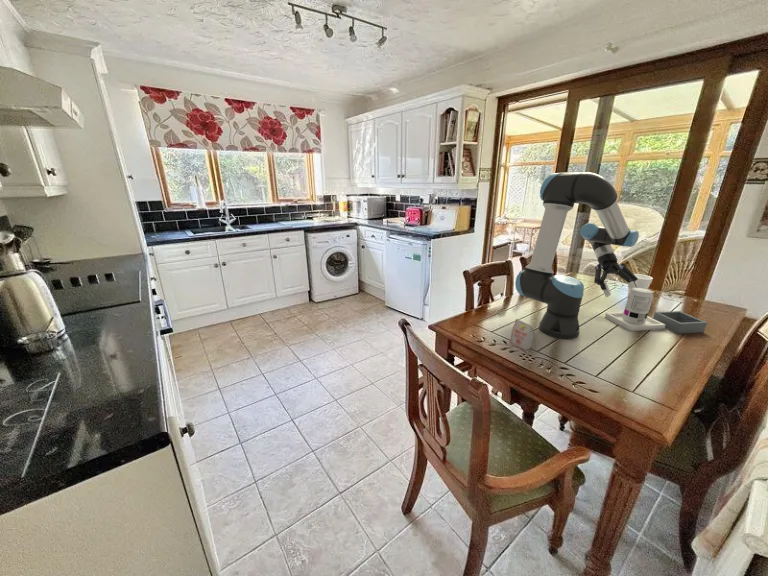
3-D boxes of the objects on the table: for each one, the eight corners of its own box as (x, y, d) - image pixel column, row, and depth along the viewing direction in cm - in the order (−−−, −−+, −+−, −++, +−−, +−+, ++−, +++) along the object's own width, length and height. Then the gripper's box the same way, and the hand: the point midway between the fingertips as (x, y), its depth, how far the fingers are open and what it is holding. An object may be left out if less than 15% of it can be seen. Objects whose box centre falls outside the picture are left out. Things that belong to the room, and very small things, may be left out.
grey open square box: (677, 333, 131) (680, 323, 129) (651, 321, 142) (654, 312, 141) (703, 332, 132) (707, 322, 130) (676, 320, 143) (679, 311, 142)
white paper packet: (516, 340, 126) (519, 318, 123) (531, 347, 121) (535, 324, 117) (510, 342, 125) (513, 320, 121) (524, 350, 119) (528, 326, 116)
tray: (629, 331, 133) (630, 326, 132) (604, 317, 146) (606, 312, 146) (664, 329, 134) (665, 324, 134) (636, 315, 148) (638, 311, 147)
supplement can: (617, 318, 143) (625, 287, 138) (631, 316, 145) (639, 286, 140) (635, 326, 135) (645, 294, 130) (649, 323, 138) (659, 292, 133)
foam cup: (638, 296, 171) (644, 274, 166) (650, 303, 162) (657, 279, 158) (619, 296, 171) (625, 273, 167) (630, 302, 163) (637, 279, 158)
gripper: (623, 259, 159) (640, 297, 150) (577, 260, 157) (591, 299, 148) (635, 251, 152) (653, 291, 143) (586, 253, 151) (602, 292, 142)
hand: (622, 295), depth 146 cm, fingers open, 13 cm apart
